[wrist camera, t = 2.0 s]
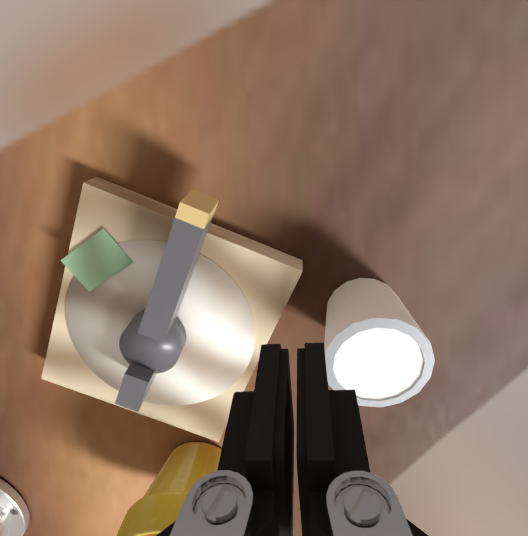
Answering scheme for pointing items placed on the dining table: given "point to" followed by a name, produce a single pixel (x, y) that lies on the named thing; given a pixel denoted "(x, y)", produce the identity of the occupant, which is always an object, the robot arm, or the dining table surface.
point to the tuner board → (190, 314)
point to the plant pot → (170, 489)
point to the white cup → (374, 345)
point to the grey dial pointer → (164, 303)
